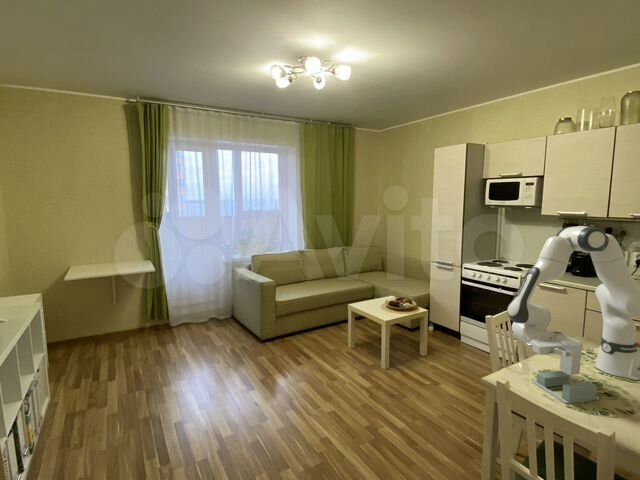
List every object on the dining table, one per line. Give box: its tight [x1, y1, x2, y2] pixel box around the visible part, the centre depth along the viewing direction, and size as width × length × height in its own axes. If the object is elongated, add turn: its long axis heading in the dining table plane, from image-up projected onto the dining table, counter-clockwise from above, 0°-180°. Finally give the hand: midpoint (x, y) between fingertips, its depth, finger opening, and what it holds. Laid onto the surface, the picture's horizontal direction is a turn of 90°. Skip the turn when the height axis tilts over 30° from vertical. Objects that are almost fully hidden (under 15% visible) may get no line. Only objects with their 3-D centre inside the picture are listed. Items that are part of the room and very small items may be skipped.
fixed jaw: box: [532, 380, 600, 405], centre depth 139 cm, size 15×16×6 cm
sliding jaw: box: [536, 370, 571, 388], centre depth 144 cm, size 12×4×4 cm, turn 100°
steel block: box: [559, 340, 583, 376], centre depth 135 cm, size 4×5×12 cm
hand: (572, 354), depth 134 cm, fingers closed on steel block, 4 cm apart
